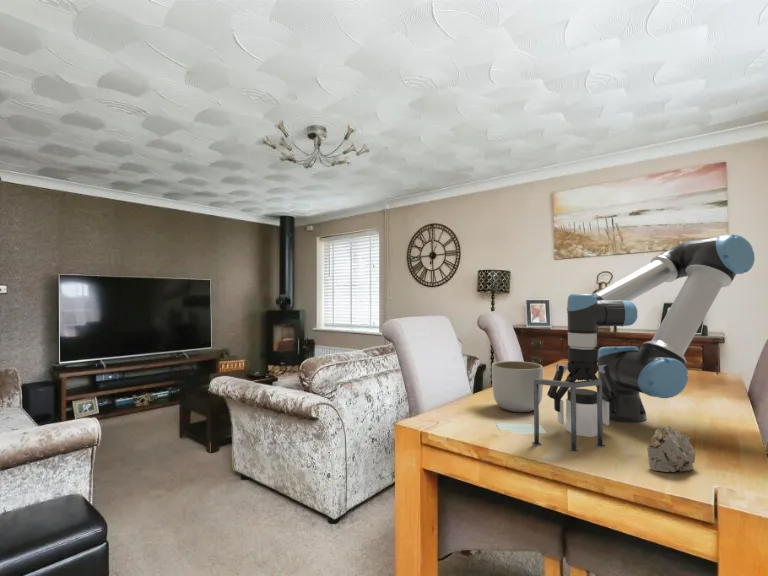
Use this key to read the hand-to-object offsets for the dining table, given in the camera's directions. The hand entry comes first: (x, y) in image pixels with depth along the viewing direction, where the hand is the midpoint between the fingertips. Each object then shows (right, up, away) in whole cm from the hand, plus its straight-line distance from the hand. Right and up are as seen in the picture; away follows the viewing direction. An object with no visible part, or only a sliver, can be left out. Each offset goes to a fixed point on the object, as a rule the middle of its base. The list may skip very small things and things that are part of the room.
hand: (583, 423), depth 116 cm
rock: (+7, -3, -27) cm, 28 cm away
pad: (-17, -3, +1) cm, 17 cm away
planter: (-11, -3, +25) cm, 27 cm away
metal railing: (-9, -3, -12) cm, 15 cm away
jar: (0, -3, 0) cm, 3 cm away
